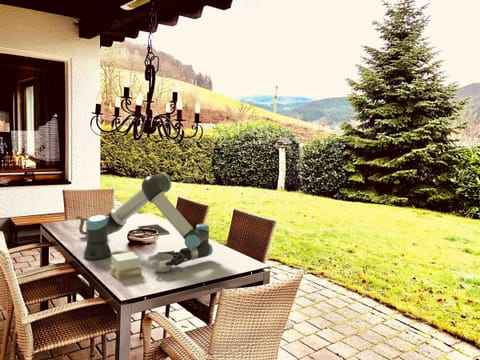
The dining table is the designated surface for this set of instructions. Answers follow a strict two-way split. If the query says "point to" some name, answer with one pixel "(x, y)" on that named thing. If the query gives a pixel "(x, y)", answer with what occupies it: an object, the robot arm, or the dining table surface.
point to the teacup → (161, 258)
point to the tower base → (125, 272)
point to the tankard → (82, 225)
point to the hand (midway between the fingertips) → (153, 261)
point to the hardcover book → (156, 228)
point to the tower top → (125, 261)
